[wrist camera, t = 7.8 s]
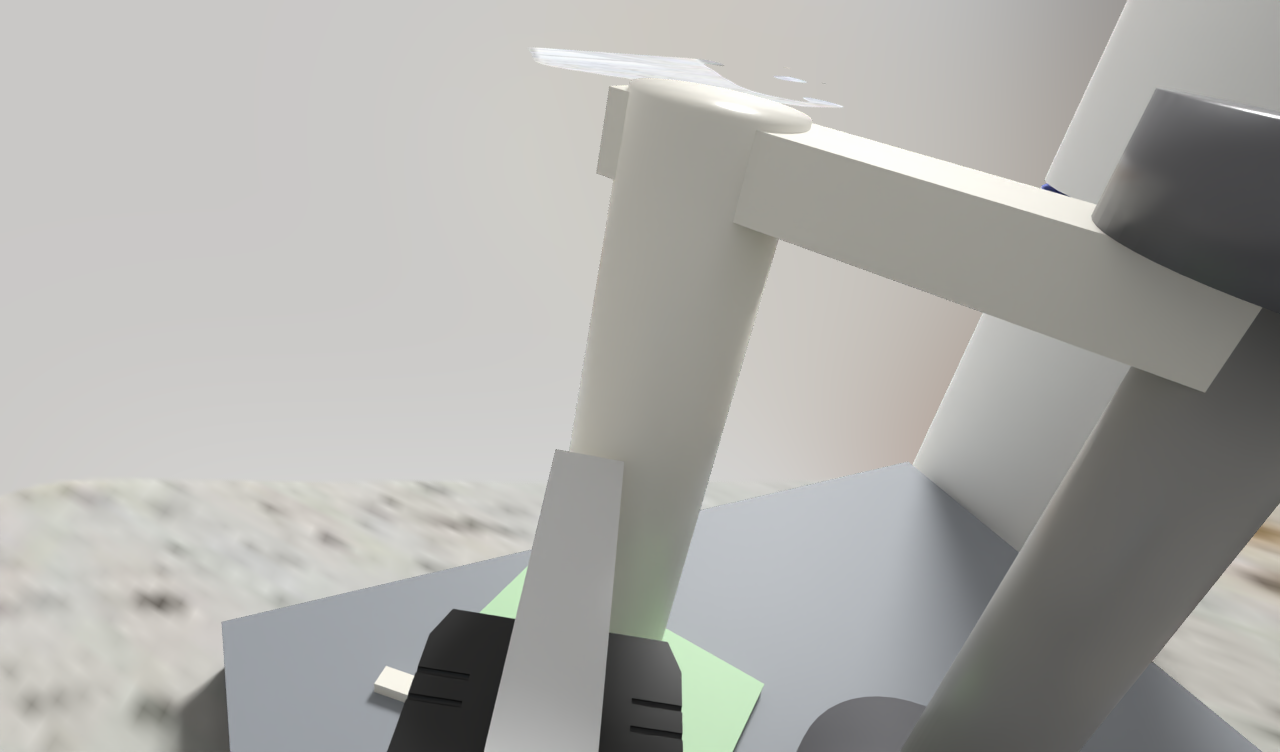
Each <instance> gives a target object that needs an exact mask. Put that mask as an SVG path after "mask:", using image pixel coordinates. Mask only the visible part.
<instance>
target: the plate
mask: <svg viewBox="0 0 1280 752" xmlns="http://www.w3.org/2000/svg"><path fill="white" fill-rule="evenodd" d="M531 551H532V550H528V551H523V552H519V553H515V554H511V555H506V556H502V557H498V558H493V559H489V560H485V561H481V562H476V563H472V564H468V565H463V566H459V567H455V568H451V569H446V570H442V571H438V572H433V573H429V574H425V575H421V576H416V577H412V578H408V579H403V580H399V581H395V582H391V583H386V584H382V585H378V586H373V587H369V588H365V589H361V590H356V591H352V592H348V593H343V594H339V595H335V596H331V597H326V598H322V599H318V600H314V601H309V602H305V603H301V604H296V605H292V606H288V607H284V608H279V609H275V610H271V611H266V612H262V613H258V614H254V615H249V616H245V617H241V618H236V619H232V620H228V621H224V622H222V635H223V651H224V666H225V681H226V696H227V711H228V727H229V742H230V752H387V750H388V747H389V745H390V742H391V739H392V736H393V733H394V731H395V728H396V725H397V722H398V720H399V717H400V714H401V711H402V709H403V706H404V703H405V700H406V699H407V696H408V692H409V689H410V686H411V684H412V681H413V678H414V675H415V672H417V668H418V664H419V661H420V659H421V656H422V653H423V650H424V648H425V645H426V642H427V639H428V636H429V634H430V633H431V632H432V631H433V630H434V628H435V627H436V626H437V625H438V624H439V623H440V622H441V621H442V620H443V619H444V618H445V617H446V616H447V615H448V613H449V612H450V611H451V610H452V609H458V610H464V611H471V612H477V613H483V614H489V615H495V616H501V617H507V618H514V619H515V618H516V614H517V610H518V606H519V601H520V597H521V593H522V589H523V585H524V580H525V576H526V572H527V568H528V563H529V559H530V555H531ZM1018 554H1019V552H1018V551H1017V550H1015V549H1014V548H1013V547H1012V546H1010V545H1009V544H1008V543H1007V542H1006V541H1004V540H1003V539H1002V538H1001V537H999V536H998V535H997V534H996V533H995V532H993V531H992V530H991V529H990V528H988V527H987V526H986V525H985V524H984V523H982V522H981V521H980V520H979V519H977V518H976V517H975V516H974V515H973V514H971V513H970V512H969V511H968V510H966V509H965V508H964V507H963V506H962V505H960V504H959V503H958V502H957V501H955V500H954V499H953V498H952V497H951V496H949V495H948V494H947V493H946V492H945V491H943V490H942V489H941V488H940V487H938V486H937V485H936V484H935V483H934V482H932V481H931V480H930V479H929V478H927V477H926V476H925V475H924V474H923V473H921V472H920V471H919V470H918V469H916V468H915V467H914V466H913V465H912V464H910V463H909V462H905V463H900V464H896V465H892V466H887V467H883V468H879V469H875V470H870V471H866V472H862V473H857V474H853V475H849V476H845V477H840V478H836V479H832V480H827V481H823V482H819V483H815V484H810V485H806V486H802V487H797V488H793V489H789V490H785V491H780V492H776V493H772V494H767V495H763V496H759V497H755V498H750V499H746V500H742V501H737V502H733V503H729V504H725V505H720V506H716V507H712V508H707V509H703V510H700V512H699V515H698V519H697V522H696V526H695V529H694V533H693V536H692V539H691V543H690V546H689V550H688V553H687V557H686V560H685V564H684V567H683V570H682V574H681V577H680V581H679V584H678V588H677V591H676V595H675V598H674V602H673V605H672V608H671V612H670V615H669V619H668V622H667V626H666V629H665V633H664V636H663V639H662V641H665V642H668V643H669V646H670V648H671V650H672V652H673V655H674V657H675V659H676V661H677V663H678V666H679V668H680V670H681V672H682V710H681V712H682V723H683V734H682V740H683V752H796V751H797V749H798V747H799V745H800V743H801V741H802V739H803V737H804V735H805V734H806V732H807V730H808V729H809V727H810V726H811V725H812V723H813V722H814V721H815V720H816V719H817V718H818V717H819V716H820V715H821V714H823V713H824V712H825V711H826V710H828V709H829V708H831V707H833V706H835V705H837V704H839V703H841V702H844V701H847V700H850V699H854V698H860V697H873V696H881V697H892V698H898V699H903V700H907V701H911V702H914V703H917V704H921V705H924V706H927V705H928V703H929V702H930V700H931V698H932V697H933V695H934V693H935V692H936V690H937V688H938V687H939V685H940V683H941V682H942V680H943V678H944V677H945V675H946V673H947V672H948V670H949V668H950V667H951V665H952V663H953V662H954V660H955V658H956V657H957V655H958V653H959V652H960V650H961V649H962V647H963V645H964V644H965V642H966V640H967V639H968V637H969V635H970V634H971V632H972V630H973V629H974V627H975V625H976V624H977V622H978V620H979V619H980V617H981V615H982V614H983V612H984V610H985V609H986V607H987V605H988V604H989V602H990V600H991V599H992V597H993V595H994V594H995V592H996V590H997V589H998V587H999V585H1000V584H1001V582H1002V580H1003V579H1004V577H1005V575H1006V574H1007V572H1008V570H1009V569H1010V567H1011V565H1012V564H1013V562H1014V560H1015V559H1016V557H1017V555H1018ZM1079 752H1262V751H1261V750H1259V749H1258V748H1257V747H1256V746H1255V745H1253V744H1252V743H1251V742H1250V741H1248V740H1247V739H1246V738H1245V737H1244V736H1242V735H1241V734H1240V733H1239V732H1238V731H1236V730H1235V729H1234V728H1233V727H1231V726H1230V725H1229V724H1228V723H1227V722H1225V721H1224V720H1223V719H1222V718H1220V717H1219V716H1218V715H1217V714H1216V713H1214V712H1213V711H1212V710H1211V709H1209V708H1208V707H1207V706H1206V705H1205V704H1203V703H1202V702H1201V701H1200V700H1198V699H1197V698H1196V697H1195V696H1194V695H1192V694H1191V693H1190V692H1189V691H1187V690H1186V689H1185V688H1184V687H1183V686H1181V685H1180V684H1179V683H1178V682H1176V681H1175V680H1174V679H1173V678H1172V677H1170V676H1169V675H1168V674H1167V673H1165V672H1164V671H1163V670H1162V669H1161V668H1159V667H1158V666H1157V665H1156V664H1154V663H1153V662H1151V663H1150V664H1149V665H1148V667H1147V668H1146V669H1145V670H1144V672H1143V673H1142V674H1141V675H1140V677H1139V678H1138V679H1137V680H1136V682H1135V683H1134V684H1133V685H1132V686H1131V688H1130V689H1129V690H1128V691H1127V693H1126V694H1125V695H1124V696H1123V698H1122V699H1121V700H1120V701H1119V703H1118V704H1117V705H1116V706H1115V708H1114V709H1113V710H1112V711H1111V712H1110V714H1109V715H1108V716H1107V717H1106V719H1105V720H1104V721H1103V722H1102V724H1101V725H1100V726H1099V727H1098V729H1097V730H1096V731H1095V732H1094V734H1093V735H1092V736H1091V737H1090V738H1089V740H1088V741H1087V742H1086V743H1085V745H1084V746H1083V747H1082V748H1081V750H1080V751H1079Z"/></svg>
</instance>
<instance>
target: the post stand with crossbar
mask: <svg viewBox="0 0 1280 752" xmlns="http://www.w3.org/2000/svg"><path fill="white" fill-rule="evenodd" d="M812 122H813V120H812V119H811V118H810V117H809V116H807V115H806V114H804V113H802V112H800V111H798V110H796V109H793V108H791V107H788V106H786V105H783V104H780V103H777V102H774V101H771V100H768V99H764V98H761V97H757V96H753V95H750V94H746V93H742V92H738V91H733V90H729V89H725V88H720V87H715V86H710V85H704V84H699V83H693V82H686V81H679V80H670V79H659V78H639V79H633V80H631V81H630V82H629V85H621V86H610V87H609V93H608V100H607V106H606V113H605V119H604V126H603V132H602V139H601V145H600V153H599V159H598V166H597V174H600V175H603V176H605V177H608V178H611V179H614V180H613V186H612V192H611V198H610V204H609V210H608V216H607V223H606V229H605V235H604V241H603V247H602V253H601V260H600V265H599V271H598V278H597V284H596V290H595V296H594V302H593V309H592V314H591V321H590V326H589V333H588V339H587V345H586V351H585V358H584V363H583V369H582V376H581V382H580V388H579V394H578V400H577V406H576V412H575V419H574V424H573V431H572V437H571V443H570V449H569V452H574V453H580V454H585V455H591V456H596V457H601V458H607V459H612V460H618V461H623V462H624V471H623V482H622V493H621V504H620V515H619V527H618V538H617V549H616V560H615V571H614V583H613V594H612V605H611V616H610V627H609V633H616V634H622V635H628V636H634V637H641V638H647V639H653V640H659V641H662V639H663V636H664V633H665V629H666V626H667V622H668V619H669V615H670V612H671V608H672V605H673V602H674V598H675V595H676V591H677V588H678V584H679V581H680V577H681V574H682V570H683V567H684V564H685V560H686V557H687V553H688V550H689V546H690V543H691V539H692V536H693V533H694V529H695V526H696V522H697V519H698V515H699V512H700V508H701V505H702V502H703V498H704V495H705V491H706V488H707V484H708V481H709V477H710V474H711V471H712V467H713V464H714V460H715V457H716V453H717V450H718V446H719V442H720V439H721V436H722V433H723V429H724V426H725V422H726V419H727V415H728V412H729V408H730V405H731V402H732V398H733V395H734V391H735V388H736V384H737V381H738V377H739V374H740V371H741V367H742V363H743V360H744V357H745V353H746V350H747V346H748V343H749V340H750V336H751V332H752V329H753V326H754V322H755V319H756V315H757V311H758V309H759V305H760V302H761V298H762V295H763V291H764V288H765V284H766V281H767V278H768V274H769V271H770V267H771V263H772V260H773V257H774V253H775V250H776V246H777V243H778V240H779V239H780V240H783V241H786V242H789V243H791V244H794V245H797V246H800V247H802V248H805V249H808V250H811V251H814V252H816V253H819V254H822V255H825V256H827V257H830V258H833V259H836V260H839V261H841V262H844V263H847V264H849V265H852V266H855V267H858V268H861V269H863V270H866V271H869V272H872V273H874V274H877V275H880V276H883V277H886V278H888V279H891V280H894V281H897V282H900V283H902V284H905V285H908V286H911V287H913V288H916V289H919V290H922V291H925V292H927V293H930V294H933V295H936V296H938V297H941V298H944V299H947V300H949V301H952V302H955V303H958V304H960V305H963V306H966V307H969V308H972V309H974V310H977V311H980V312H983V313H985V314H988V315H991V316H994V317H997V318H999V319H1002V320H1005V321H1008V322H1010V323H1013V324H1016V325H1019V326H1021V327H1024V328H1027V329H1030V330H1033V331H1035V332H1038V333H1041V334H1044V335H1046V336H1049V337H1052V338H1055V339H1058V340H1060V341H1063V342H1066V343H1069V344H1071V345H1074V346H1077V347H1080V348H1082V349H1085V350H1088V351H1091V352H1094V353H1096V354H1099V355H1102V356H1105V357H1107V358H1110V359H1113V360H1116V361H1119V362H1121V363H1124V364H1127V365H1130V366H1131V367H1130V369H1129V371H1128V372H1127V374H1126V376H1125V377H1124V379H1123V381H1122V382H1121V384H1120V386H1119V387H1118V389H1117V391H1116V392H1115V394H1114V396H1113V397H1112V399H1111V401H1110V402H1109V404H1108V406H1107V407H1106V409H1105V411H1104V412H1103V414H1102V415H1101V417H1100V419H1099V420H1098V422H1097V424H1096V425H1095V427H1094V429H1093V430H1092V432H1091V434H1090V435H1089V437H1088V439H1087V440H1086V442H1085V444H1084V445H1083V447H1082V449H1081V450H1080V452H1079V454H1078V455H1077V457H1076V459H1075V460H1074V462H1073V464H1072V465H1071V467H1070V469H1069V470H1068V472H1067V474H1066V475H1065V477H1064V479H1063V480H1062V482H1061V484H1060V485H1059V487H1058V489H1057V490H1056V492H1055V494H1054V495H1053V497H1052V499H1051V500H1050V502H1049V504H1048V505H1047V507H1046V509H1045V510H1044V512H1043V514H1042V515H1041V517H1040V519H1039V520H1038V522H1037V524H1036V525H1035V527H1034V529H1033V530H1032V532H1031V534H1030V535H1029V537H1028V539H1027V540H1026V542H1025V544H1024V545H1023V547H1022V549H1021V550H1020V552H1019V554H1018V555H1017V557H1016V559H1015V560H1014V562H1013V564H1012V565H1011V567H1010V569H1009V570H1008V572H1007V574H1006V575H1005V577H1004V579H1003V580H1002V582H1001V584H1000V585H999V587H998V589H997V590H996V592H995V594H994V595H993V597H992V599H991V600H990V602H989V604H988V605H987V607H986V609H985V610H984V612H983V614H982V615H981V617H980V619H979V620H978V622H977V624H976V625H975V627H974V629H973V630H972V632H971V634H970V635H969V637H968V639H967V640H966V642H965V644H964V645H963V647H962V649H961V650H960V652H959V653H958V655H957V657H956V658H955V660H954V662H953V663H952V665H951V667H950V668H949V670H948V672H947V673H946V675H945V677H944V678H943V680H942V682H941V683H940V685H939V687H938V688H937V690H936V692H935V693H934V695H933V697H932V698H931V700H930V702H929V703H928V705H927V706H924V705H921V704H917V703H914V702H911V701H907V700H903V699H898V698H892V697H881V696H873V697H860V698H854V699H850V700H847V701H844V702H841V703H839V704H837V705H835V706H833V707H831V708H829V709H828V710H826V711H825V712H824V713H823V714H821V715H820V716H819V717H818V718H817V719H816V720H815V721H814V722H813V723H812V725H811V726H810V727H809V729H808V730H807V732H806V734H805V735H804V737H803V739H802V741H801V743H800V745H799V747H798V749H797V751H796V752H1079V751H1080V750H1081V748H1082V747H1083V746H1084V745H1085V743H1086V742H1087V741H1088V740H1089V738H1090V737H1091V736H1092V735H1093V734H1094V732H1095V731H1096V730H1097V729H1098V727H1099V726H1100V725H1101V724H1102V722H1103V721H1104V720H1105V719H1106V717H1107V716H1108V715H1109V714H1110V712H1111V711H1112V710H1113V709H1114V708H1115V706H1116V705H1117V704H1118V703H1119V701H1120V700H1121V699H1122V698H1123V696H1124V695H1125V694H1126V693H1127V691H1128V690H1129V689H1130V688H1131V686H1132V685H1133V684H1134V683H1135V682H1136V680H1137V679H1138V678H1139V677H1140V675H1141V674H1142V673H1143V672H1144V670H1145V669H1146V668H1147V667H1148V665H1149V664H1150V663H1151V662H1152V660H1153V659H1154V658H1155V657H1156V656H1157V654H1158V653H1159V652H1160V651H1161V649H1162V648H1163V647H1164V646H1165V644H1166V643H1167V642H1168V641H1169V639H1170V638H1171V637H1172V636H1173V634H1174V633H1175V632H1176V631H1177V630H1178V628H1179V627H1180V626H1181V625H1182V623H1183V622H1184V621H1185V620H1186V618H1187V617H1188V616H1189V615H1190V613H1191V612H1192V611H1193V610H1194V608H1195V607H1196V606H1197V605H1198V603H1199V602H1200V601H1201V600H1202V599H1203V597H1204V596H1205V595H1206V594H1207V592H1208V591H1209V590H1210V589H1211V587H1212V586H1213V585H1214V584H1215V582H1216V581H1217V580H1218V579H1219V577H1220V576H1221V575H1222V574H1223V573H1224V571H1225V570H1226V569H1227V568H1228V566H1229V565H1230V564H1231V563H1232V561H1233V560H1234V559H1235V558H1236V556H1237V555H1238V554H1239V553H1240V551H1241V550H1242V549H1243V548H1244V547H1245V545H1246V544H1247V543H1248V542H1249V540H1250V539H1251V538H1252V537H1253V535H1254V534H1255V533H1256V532H1257V530H1258V529H1259V528H1260V527H1261V525H1262V524H1263V523H1264V522H1265V521H1266V519H1267V518H1268V517H1269V516H1270V514H1271V513H1272V512H1273V511H1274V509H1275V508H1276V507H1277V506H1278V504H1279V503H1280V112H1279V111H1274V110H1269V109H1265V108H1260V107H1255V106H1250V105H1246V104H1241V103H1236V102H1231V101H1226V100H1221V99H1216V98H1211V97H1206V96H1201V95H1196V94H1191V93H1186V92H1181V91H1175V90H1169V89H1163V88H1156V89H1155V91H1154V93H1153V95H1152V97H1151V99H1150V101H1149V103H1148V105H1147V107H1146V109H1145V111H1144V113H1143V115H1142V117H1141V119H1140V121H1139V123H1138V125H1137V127H1136V129H1135V131H1134V133H1133V135H1132V137H1131V139H1130V140H1129V142H1128V144H1127V146H1126V148H1125V150H1124V152H1123V154H1122V156H1121V158H1120V160H1119V162H1118V164H1117V166H1116V168H1115V170H1114V172H1113V174H1112V176H1111V178H1110V180H1109V182H1108V184H1107V186H1106V188H1105V190H1104V192H1103V194H1102V196H1101V198H1100V200H1099V201H1098V203H1097V205H1096V204H1093V203H1089V202H1086V201H1082V200H1079V199H1075V198H1072V197H1068V196H1065V195H1061V194H1058V193H1054V192H1051V191H1047V190H1044V189H1040V188H1037V187H1033V186H1030V185H1026V184H1023V183H1019V182H1016V181H1013V180H1009V179H1005V178H1002V177H998V176H995V175H991V174H988V173H985V172H981V171H977V170H974V169H971V168H967V167H964V166H960V165H957V164H953V163H950V162H946V161H943V160H939V159H936V158H932V157H929V156H925V155H921V154H918V153H915V152H911V151H908V150H904V149H900V148H897V147H894V146H890V145H887V144H883V143H880V142H876V141H873V140H869V139H866V138H862V137H859V136H855V135H852V134H848V133H845V132H841V131H838V130H834V129H831V128H827V127H824V126H820V125H817V124H813V123H812Z"/></svg>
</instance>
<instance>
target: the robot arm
mask: <svg viewBox="0 0 1280 752" xmlns="http://www.w3.org/2000/svg"><path fill="white" fill-rule="evenodd" d="M623 471H624V462H623V461H618V460H612V459H607V458H601V457H596V456H591V455H585V454H580V453H574V452H568V451H563V450H557V449H556V450H555V454H554V458H553V462H552V467H551V471H550V475H549V479H548V483H547V488H546V492H545V496H544V500H543V504H542V509H541V513H540V517H539V521H538V526H537V530H536V534H535V538H534V542H533V547H532V551H531V555H530V559H529V563H528V568H527V572H526V576H525V580H524V585H523V589H522V593H521V597H520V601H519V606H518V610H517V614H516V618H515V619H514V618H507V617H501V616H495V615H489V614H483V613H477V612H471V611H464V610H458V609H452V610H451V611H450V612H449V613H448V615H447V616H446V617H445V618H444V619H443V620H442V621H441V622H440V623H439V624H438V625H437V626H436V627H435V628H434V630H433V631H432V632H431V633H430V634H429V636H428V639H427V642H426V645H425V648H424V650H423V653H422V656H421V659H420V661H419V664H418V668H417V672H415V675H414V678H413V681H412V684H411V686H410V689H409V692H408V696H407V699H406V700H405V703H404V706H403V709H402V711H401V714H400V717H399V720H398V722H397V725H396V728H395V731H394V733H393V736H392V739H391V742H390V745H389V747H388V750H387V752H683V740H682V734H683V723H682V712H681V710H682V672H681V670H680V668H679V666H678V663H677V661H676V659H675V657H674V655H673V652H672V650H671V648H670V646H669V643H668V642H665V641H659V640H653V639H647V638H641V637H634V636H628V635H622V634H616V633H609V627H610V616H611V605H612V594H613V583H614V571H615V560H616V549H617V538H618V527H619V515H620V504H621V493H622V482H623Z"/></svg>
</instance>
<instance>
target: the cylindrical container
mask: <svg viewBox="0 0 1280 752" xmlns="http://www.w3.org/2000/svg"><path fill="white" fill-rule="evenodd" d="M1156 88H1163V89H1169V90H1175V91H1181V92H1186V93H1191V94H1196V95H1201V96H1206V97H1211V98H1216V99H1221V100H1226V101H1231V102H1236V103H1241V104H1246V105H1250V106H1255V107H1260V108H1265V109H1269V110H1274V111H1279V112H1280V0H1127V2H1126V4H1125V7H1124V9H1123V11H1122V13H1121V15H1120V18H1119V20H1118V22H1117V24H1116V26H1115V28H1114V30H1113V33H1112V35H1111V37H1110V39H1109V41H1108V43H1107V45H1106V48H1105V50H1104V52H1103V54H1102V56H1101V58H1100V61H1099V63H1098V65H1097V67H1096V69H1095V72H1094V74H1093V76H1092V78H1091V80H1090V82H1089V84H1088V87H1087V89H1086V91H1085V93H1084V95H1083V97H1082V100H1081V102H1080V104H1079V106H1078V108H1077V110H1076V113H1075V115H1074V117H1073V119H1072V121H1071V123H1070V126H1069V128H1068V130H1067V132H1066V134H1065V136H1064V139H1063V141H1062V143H1061V145H1060V147H1059V150H1058V152H1057V154H1056V156H1055V158H1054V160H1053V162H1052V164H1051V167H1050V169H1049V171H1048V173H1047V175H1046V178H1045V181H1046V182H1047V183H1048V184H1045V185H1042V186H1041V188H1040V189H1044V190H1047V191H1051V192H1054V193H1058V194H1061V195H1065V196H1068V197H1072V198H1075V199H1079V200H1082V201H1086V202H1089V203H1093V204H1096V205H1097V203H1098V201H1099V200H1100V198H1101V196H1102V194H1103V192H1104V190H1105V188H1106V186H1107V184H1108V182H1109V180H1110V178H1111V176H1112V174H1113V172H1114V170H1115V168H1116V166H1117V164H1118V162H1119V160H1120V158H1121V156H1122V154H1123V152H1124V150H1125V148H1126V146H1127V144H1128V142H1129V140H1130V139H1131V137H1132V135H1133V133H1134V131H1135V129H1136V127H1137V125H1138V123H1139V121H1140V119H1141V117H1142V115H1143V113H1144V111H1145V109H1146V107H1147V105H1148V103H1149V101H1150V99H1151V97H1152V95H1153V93H1154V91H1155V89H1156ZM1130 367H1131V366H1130V365H1127V364H1124V363H1121V362H1119V361H1116V360H1113V359H1110V358H1107V357H1105V356H1102V355H1099V354H1096V353H1094V352H1091V351H1088V350H1085V349H1082V348H1080V347H1077V346H1074V345H1071V344H1069V343H1066V342H1063V341H1060V340H1058V339H1055V338H1052V337H1049V336H1046V335H1044V334H1041V333H1038V332H1035V331H1033V330H1030V329H1027V328H1024V327H1021V326H1019V325H1016V324H1013V323H1010V322H1008V321H1005V320H1002V319H999V318H997V317H994V316H991V315H988V314H985V313H983V314H982V316H981V318H980V320H979V322H978V325H977V326H976V329H975V331H974V333H973V335H972V337H971V340H970V342H969V344H968V346H967V348H966V350H965V353H964V355H963V357H962V359H961V361H960V363H959V365H958V368H957V370H956V372H955V374H954V376H953V379H952V381H951V383H950V385H949V387H948V389H947V392H946V394H945V396H944V398H943V400H942V402H941V404H940V407H939V409H938V411H937V413H936V415H935V418H934V420H933V422H932V424H931V426H930V428H929V430H928V433H927V435H926V437H925V439H924V441H923V443H922V445H921V448H920V450H919V452H918V454H917V456H916V458H915V461H914V463H913V466H914V467H915V468H916V469H918V470H919V471H920V472H921V473H923V474H924V475H925V476H926V477H927V478H929V479H930V480H931V481H932V482H934V483H935V484H936V485H937V486H938V487H940V488H941V489H942V490H943V491H945V492H946V493H947V494H948V495H949V496H951V497H952V498H953V499H954V500H955V501H957V502H958V503H959V504H960V505H962V506H963V507H964V508H965V509H966V510H968V511H969V512H970V513H971V514H973V515H974V516H975V517H976V518H977V519H979V520H980V521H981V522H982V523H984V524H985V525H986V526H987V527H988V528H990V529H991V530H992V531H993V532H995V533H996V534H997V535H998V536H999V537H1001V538H1002V539H1003V540H1004V541H1006V542H1007V543H1008V544H1009V545H1010V546H1012V547H1013V548H1014V549H1015V550H1017V551H1018V552H1020V550H1021V549H1022V547H1023V545H1024V544H1025V542H1026V540H1027V539H1028V537H1029V535H1030V534H1031V532H1032V530H1033V529H1034V527H1035V525H1036V524H1037V522H1038V520H1039V519H1040V517H1041V515H1042V514H1043V512H1044V510H1045V509H1046V507H1047V505H1048V504H1049V502H1050V500H1051V499H1052V497H1053V495H1054V494H1055V492H1056V490H1057V489H1058V487H1059V485H1060V484H1061V482H1062V480H1063V479H1064V477H1065V475H1066V474H1067V472H1068V470H1069V469H1070V467H1071V465H1072V464H1073V462H1074V460H1075V459H1076V457H1077V455H1078V454H1079V452H1080V450H1081V449H1082V447H1083V445H1084V444H1085V442H1086V440H1087V439H1088V437H1089V435H1090V434H1091V432H1092V430H1093V429H1094V427H1095V425H1096V424H1097V422H1098V420H1099V419H1100V417H1101V415H1102V414H1103V412H1104V411H1105V409H1106V407H1107V406H1108V404H1109V402H1110V401H1111V399H1112V397H1113V396H1114V394H1115V392H1116V391H1117V389H1118V387H1119V386H1120V384H1121V382H1122V381H1123V379H1124V377H1125V376H1126V374H1127V372H1128V371H1129V369H1130Z"/></svg>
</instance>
